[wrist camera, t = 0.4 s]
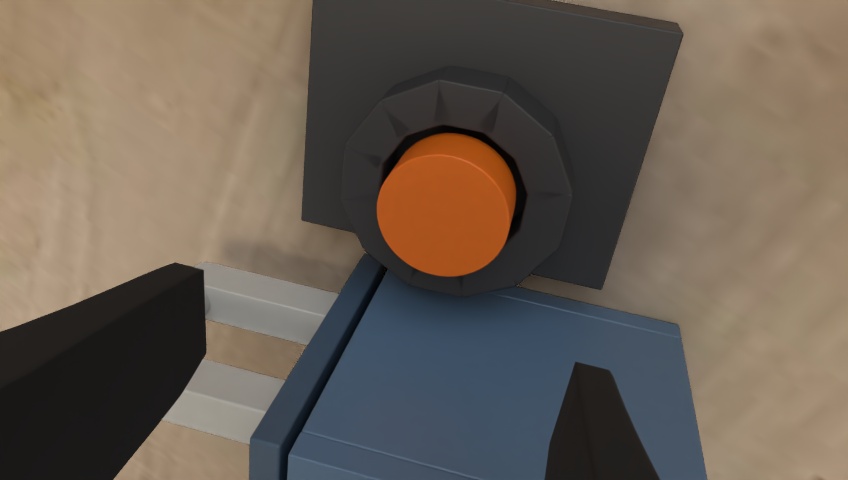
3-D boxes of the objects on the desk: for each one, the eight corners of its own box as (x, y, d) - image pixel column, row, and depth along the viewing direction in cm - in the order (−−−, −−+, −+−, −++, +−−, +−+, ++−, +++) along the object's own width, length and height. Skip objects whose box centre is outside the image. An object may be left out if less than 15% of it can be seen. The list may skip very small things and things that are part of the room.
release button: (502, 259, 20) (495, 290, 19) (386, 233, 21) (370, 260, 19) (528, 147, 18) (522, 171, 17) (400, 120, 19) (383, 141, 17)
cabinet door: (219, 474, 31) (91, 677, 23) (214, 216, 25) (32, 378, 17) (353, 512, 31) (267, 737, 23) (385, 257, 24) (280, 447, 16)
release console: (598, 280, 23) (598, 331, 20) (315, 214, 24) (281, 255, 21) (678, 23, 19) (691, 46, 16) (331, -40, 20) (291, -28, 17)
